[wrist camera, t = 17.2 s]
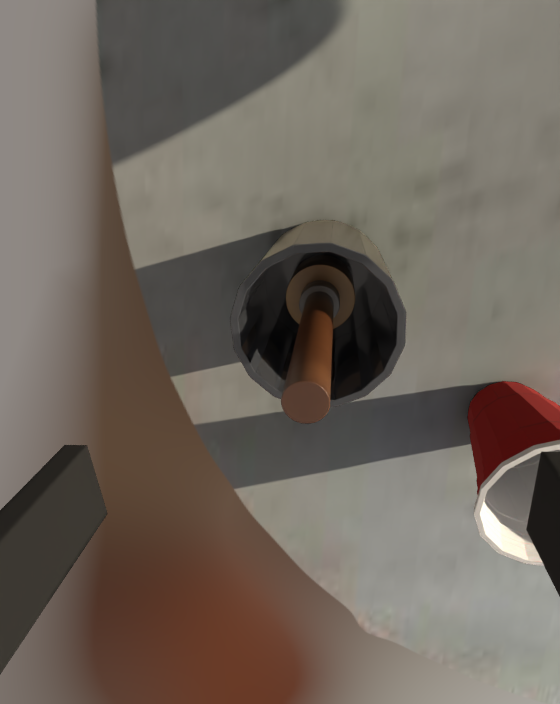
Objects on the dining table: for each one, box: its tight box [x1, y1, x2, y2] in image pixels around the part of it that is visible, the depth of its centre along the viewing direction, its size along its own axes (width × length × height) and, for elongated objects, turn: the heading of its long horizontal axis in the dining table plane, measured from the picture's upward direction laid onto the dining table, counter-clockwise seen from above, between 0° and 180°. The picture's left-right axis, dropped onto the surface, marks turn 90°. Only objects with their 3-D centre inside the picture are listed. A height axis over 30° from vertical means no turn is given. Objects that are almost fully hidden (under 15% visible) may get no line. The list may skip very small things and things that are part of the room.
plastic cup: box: [467, 381, 560, 566], centre depth 32 cm, size 11×11×12 cm
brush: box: [281, 255, 355, 424], centre depth 26 cm, size 5×5×18 cm
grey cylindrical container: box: [230, 220, 406, 407], centre depth 30 cm, size 10×10×11 cm
